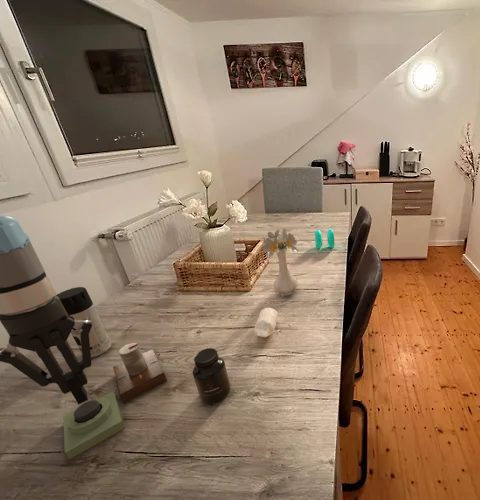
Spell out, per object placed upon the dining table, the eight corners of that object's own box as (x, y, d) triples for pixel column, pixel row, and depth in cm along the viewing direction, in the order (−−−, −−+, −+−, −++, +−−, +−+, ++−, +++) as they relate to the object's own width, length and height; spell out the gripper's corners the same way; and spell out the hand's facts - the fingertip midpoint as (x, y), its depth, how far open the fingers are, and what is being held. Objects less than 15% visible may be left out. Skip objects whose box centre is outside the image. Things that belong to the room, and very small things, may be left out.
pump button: (76, 414, 60) (72, 408, 60) (100, 402, 63) (97, 396, 62) (77, 426, 58) (74, 421, 57) (102, 413, 60) (99, 408, 60)
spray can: (78, 355, 82) (46, 297, 74) (104, 340, 87) (77, 284, 80) (91, 361, 79) (60, 301, 71) (117, 345, 85) (91, 288, 77)
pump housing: (67, 422, 62) (59, 410, 61) (117, 397, 68) (111, 385, 67) (69, 459, 55) (60, 447, 54) (125, 427, 61) (118, 415, 59)
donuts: (316, 244, 156) (314, 227, 152) (333, 243, 157) (333, 226, 153) (316, 251, 147) (314, 233, 143) (334, 250, 148) (334, 232, 144)
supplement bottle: (211, 410, 64) (199, 371, 59) (194, 397, 68) (181, 359, 63) (237, 388, 70) (227, 351, 65) (220, 377, 73) (209, 341, 68)
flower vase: (300, 278, 121) (294, 222, 111) (304, 301, 104) (297, 238, 95) (269, 282, 118) (260, 226, 108) (268, 306, 102) (257, 243, 92)
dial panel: (116, 375, 74) (112, 366, 73) (155, 356, 80) (152, 348, 79) (124, 403, 67) (120, 394, 65) (167, 380, 72) (163, 371, 71)
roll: (252, 346, 83) (249, 331, 81) (261, 321, 94) (258, 307, 92) (273, 345, 83) (270, 330, 81) (279, 320, 94) (276, 306, 92)
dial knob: (130, 378, 70) (119, 355, 67) (127, 369, 72) (116, 347, 69) (148, 369, 72) (139, 347, 69) (145, 361, 75) (136, 339, 72)
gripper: (76, 283, 56) (118, 370, 65) (-26, 311, 48) (39, 407, 57) (78, 296, 51) (123, 389, 61) (-35, 331, 43) (38, 432, 52)
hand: (82, 398), depth 59 cm, fingers closed
